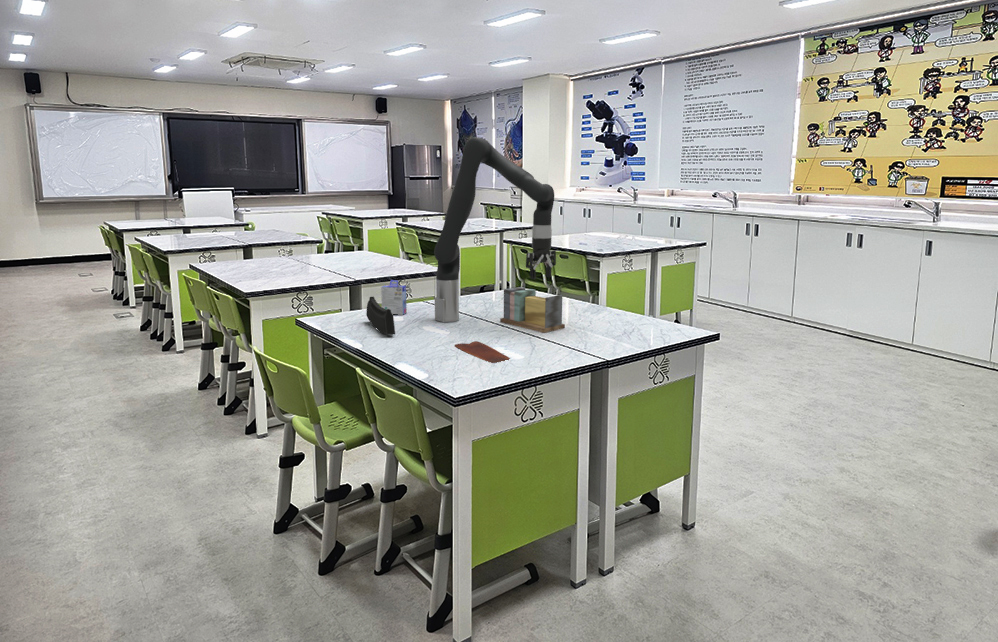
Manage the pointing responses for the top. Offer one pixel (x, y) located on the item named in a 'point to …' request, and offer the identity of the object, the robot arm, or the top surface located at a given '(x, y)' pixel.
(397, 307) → the ink cartridge box
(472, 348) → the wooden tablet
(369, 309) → the magazine
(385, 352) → the top surface
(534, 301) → the yellow block
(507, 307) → the book shelf
